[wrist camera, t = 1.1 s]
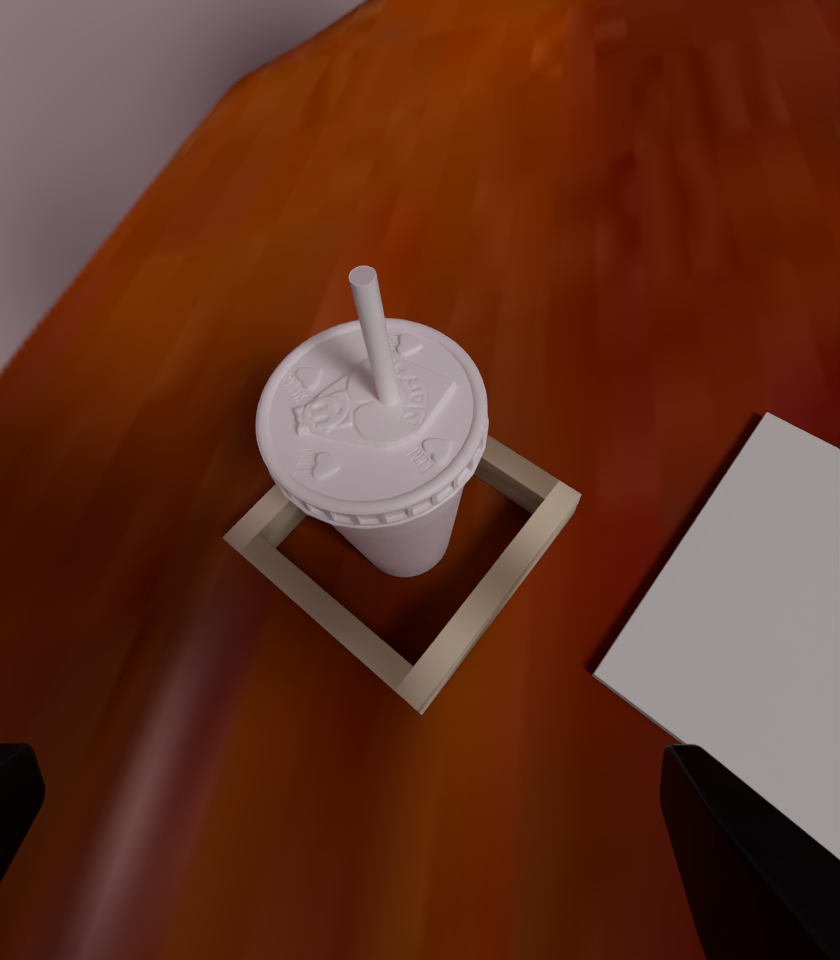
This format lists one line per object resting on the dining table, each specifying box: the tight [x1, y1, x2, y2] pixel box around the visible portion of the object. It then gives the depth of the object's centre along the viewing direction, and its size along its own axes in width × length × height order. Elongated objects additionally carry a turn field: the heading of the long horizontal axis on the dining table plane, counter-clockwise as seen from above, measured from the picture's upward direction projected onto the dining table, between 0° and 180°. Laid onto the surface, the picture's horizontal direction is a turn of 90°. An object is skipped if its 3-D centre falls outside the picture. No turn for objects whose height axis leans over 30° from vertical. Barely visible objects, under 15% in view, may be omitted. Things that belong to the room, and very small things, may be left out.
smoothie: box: [256, 266, 489, 577], centre depth 17 cm, size 6×6×14 cm
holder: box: [222, 435, 581, 715], centre depth 23 cm, size 10×10×2 cm
